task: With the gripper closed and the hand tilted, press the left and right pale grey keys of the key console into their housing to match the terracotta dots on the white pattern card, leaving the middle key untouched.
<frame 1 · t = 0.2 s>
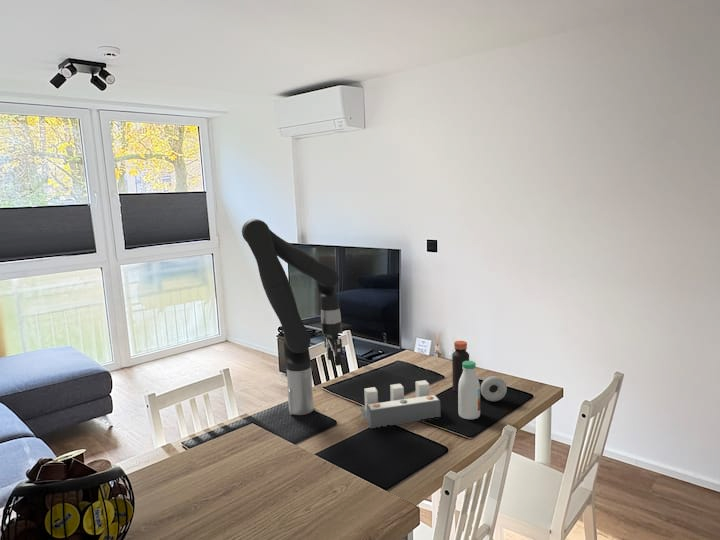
hand: (334, 362, 189), 18 cm above the table, tool pointing down, fingers open, 8 cm apart
vinegar: (461, 390, 202), on the table
donut: (493, 401, 190), on the table
key console: (399, 413, 183), on the table
key right: (422, 392, 186), point 6 cm above the table, slide at 0.0 cm
milk bottle: (469, 415, 179), on the table
key left: (371, 400, 182), point 6 cm above the table, slide at 0.0 cm
key middle: (397, 396, 184), point 6 cm above the table, slide at 0.0 cm
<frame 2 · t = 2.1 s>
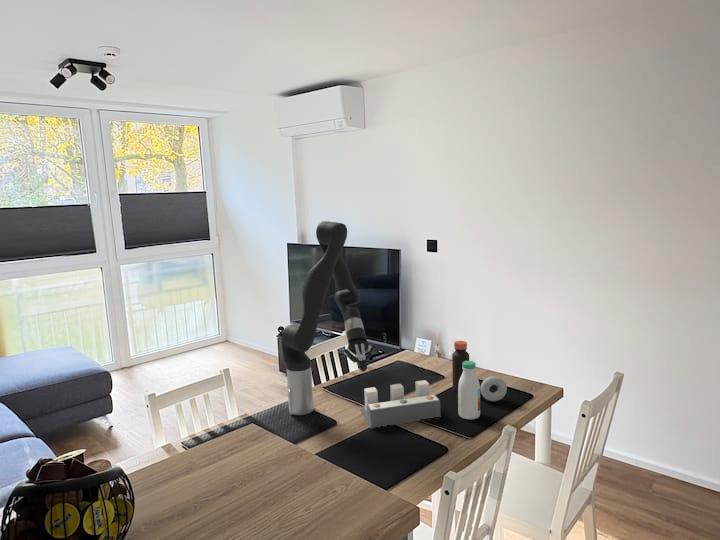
hand: (364, 370, 190), 13 cm above the table, tool tilted 45°, fingers closed
nothing on the table moved.
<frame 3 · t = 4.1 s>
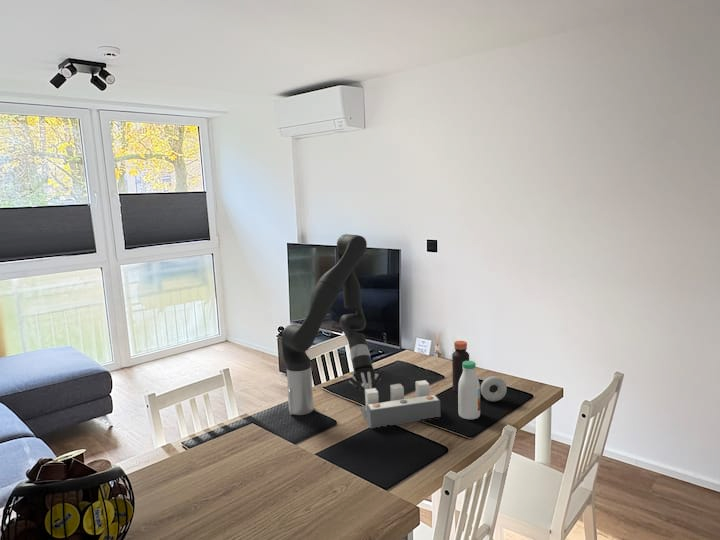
hand: (370, 400, 183), 5 cm above the table, tool tilted 45°, fingers closed
key left: (371, 401, 181), point 6 cm above the table, slide at 1.0 cm, touching gripper
everything else where it was.
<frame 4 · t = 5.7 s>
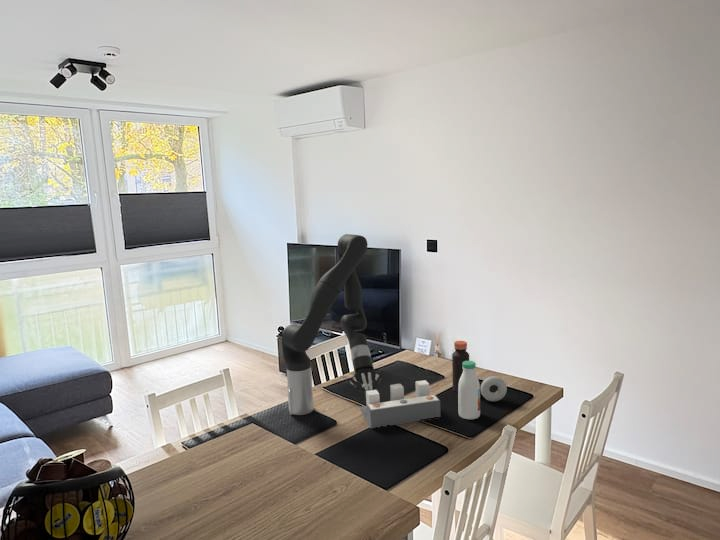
hand: (370, 401, 183), 5 cm above the table, tool tilted 45°, fingers closed
key left: (373, 402, 179), point 6 cm above the table, slide at 2.5 cm
everything else where it was.
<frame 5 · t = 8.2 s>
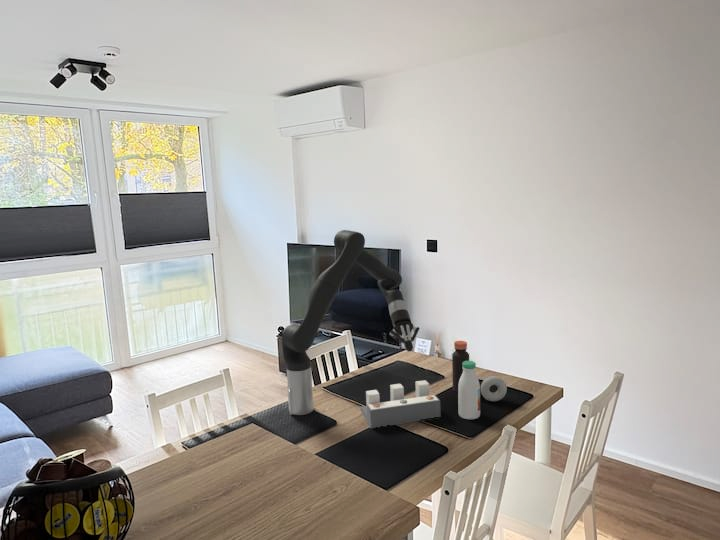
hand: (410, 350, 196), 18 cm above the table, tool tilted 45°, fingers closed
nothing on the table moved.
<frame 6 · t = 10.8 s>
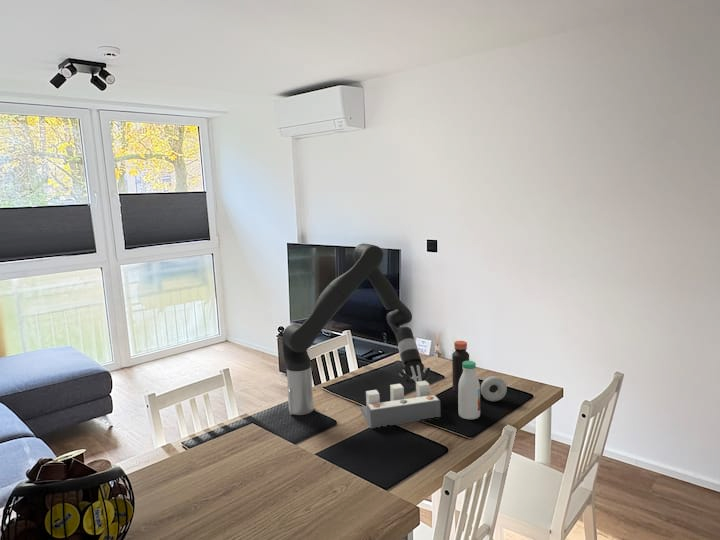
hand: (420, 393, 188), 5 cm above the table, tool tilted 45°, fingers closed
key right: (422, 393, 186), point 6 cm above the table, slide at 0.5 cm, touching gripper
everything else where it was.
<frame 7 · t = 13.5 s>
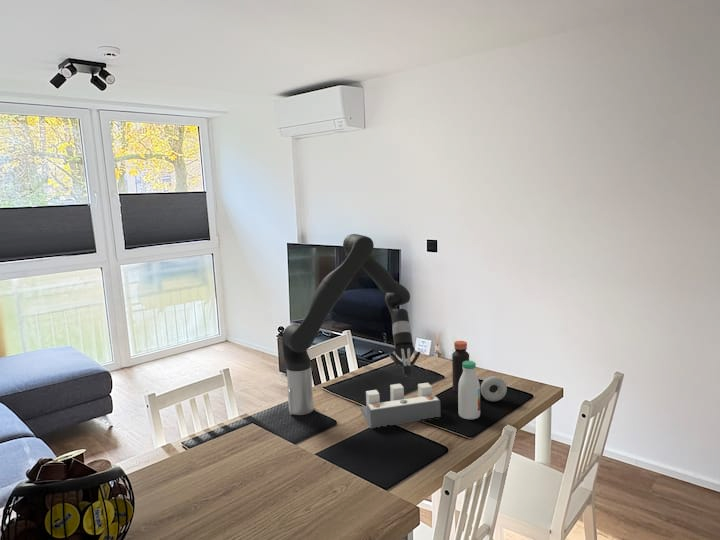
hand: (407, 376, 194), 9 cm above the table, tool tilted 35°, fingers closed
key right: (424, 395, 184), point 6 cm above the table, slide at 2.5 cm
everything else where it was.
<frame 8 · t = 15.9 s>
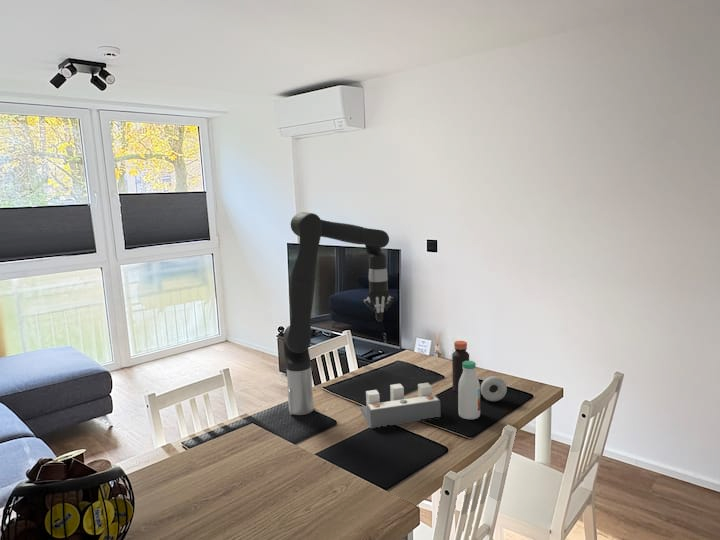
hand: (379, 320, 202), 29 cm above the table, tool pointing down, fingers closed
nothing on the table moved.
at the end: key left slide at 2.5 cm; key right slide at 2.5 cm; key middle slide at 0.0 cm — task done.
